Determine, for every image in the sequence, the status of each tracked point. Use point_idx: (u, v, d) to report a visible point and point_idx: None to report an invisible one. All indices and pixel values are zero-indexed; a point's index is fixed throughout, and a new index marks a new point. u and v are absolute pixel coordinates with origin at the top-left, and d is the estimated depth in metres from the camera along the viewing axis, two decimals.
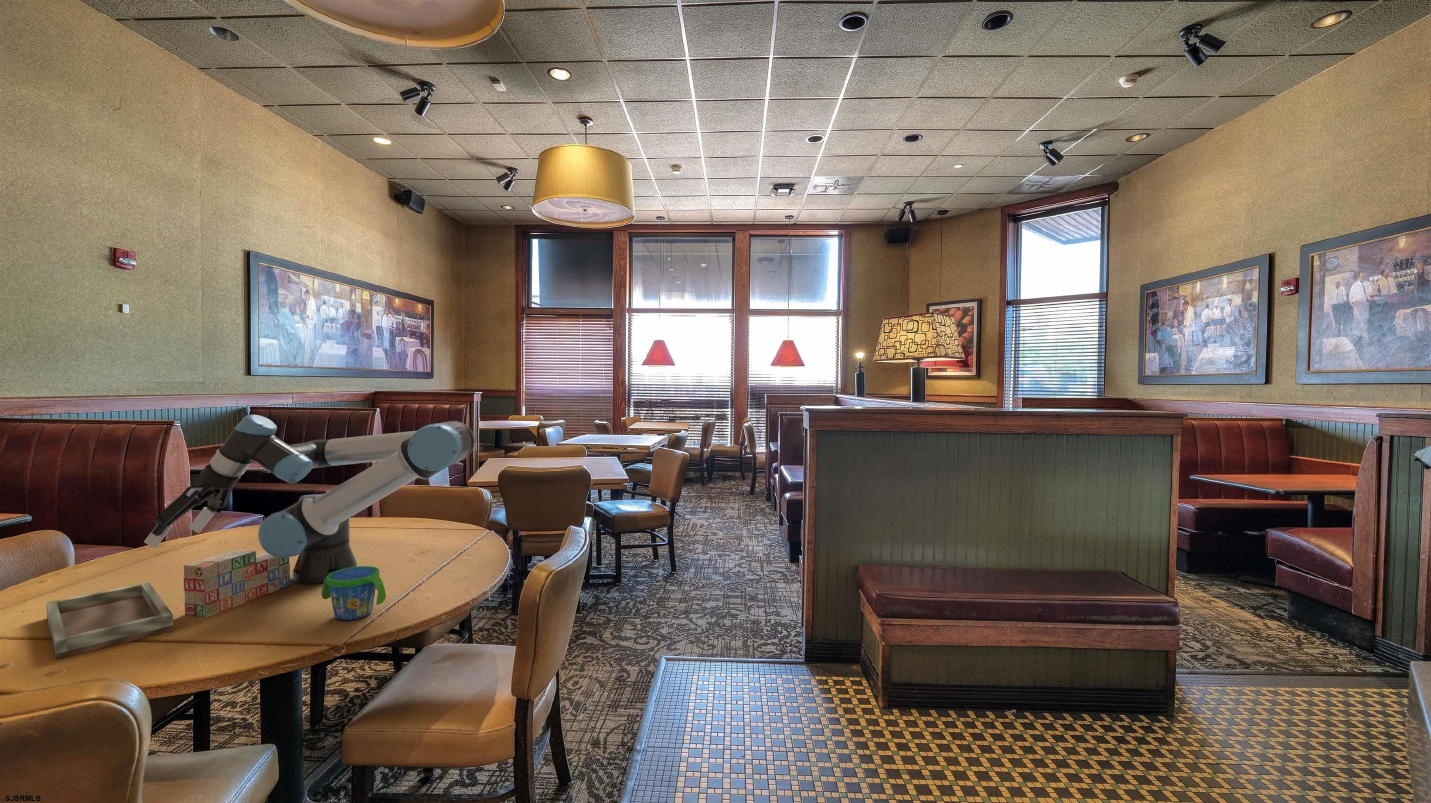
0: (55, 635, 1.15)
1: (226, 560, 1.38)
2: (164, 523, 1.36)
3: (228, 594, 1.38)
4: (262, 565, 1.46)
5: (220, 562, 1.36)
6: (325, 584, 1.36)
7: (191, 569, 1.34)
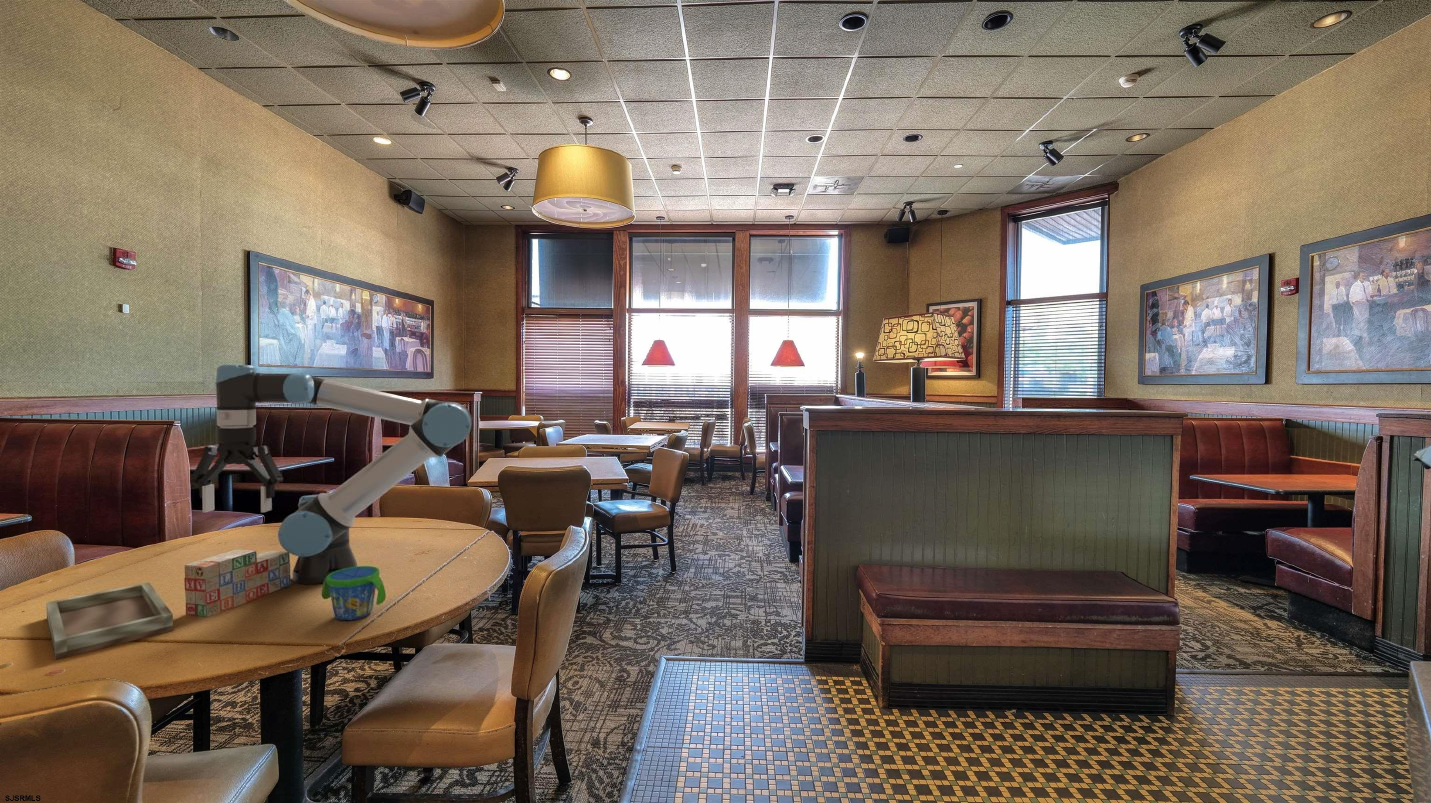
0: (55, 635, 1.15)
1: (227, 560, 1.38)
2: None
3: (229, 594, 1.38)
4: (262, 564, 1.47)
5: (221, 562, 1.36)
6: (325, 584, 1.36)
7: (192, 569, 1.34)
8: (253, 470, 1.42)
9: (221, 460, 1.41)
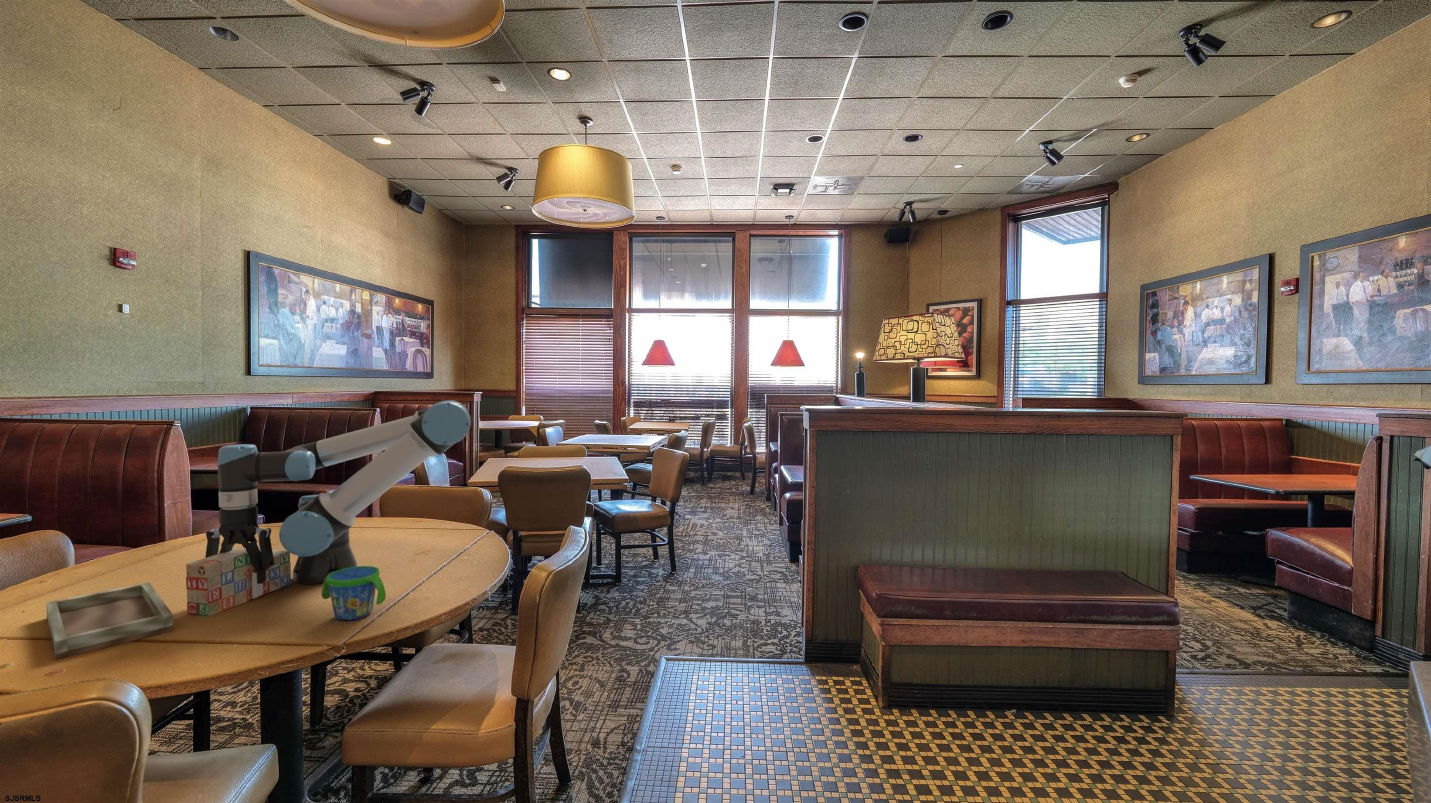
0: (55, 635, 1.15)
1: (229, 559, 1.38)
2: None
3: (230, 593, 1.39)
4: None
5: (223, 561, 1.37)
6: (325, 584, 1.36)
7: (194, 568, 1.34)
8: (249, 553, 1.43)
9: (226, 542, 1.42)
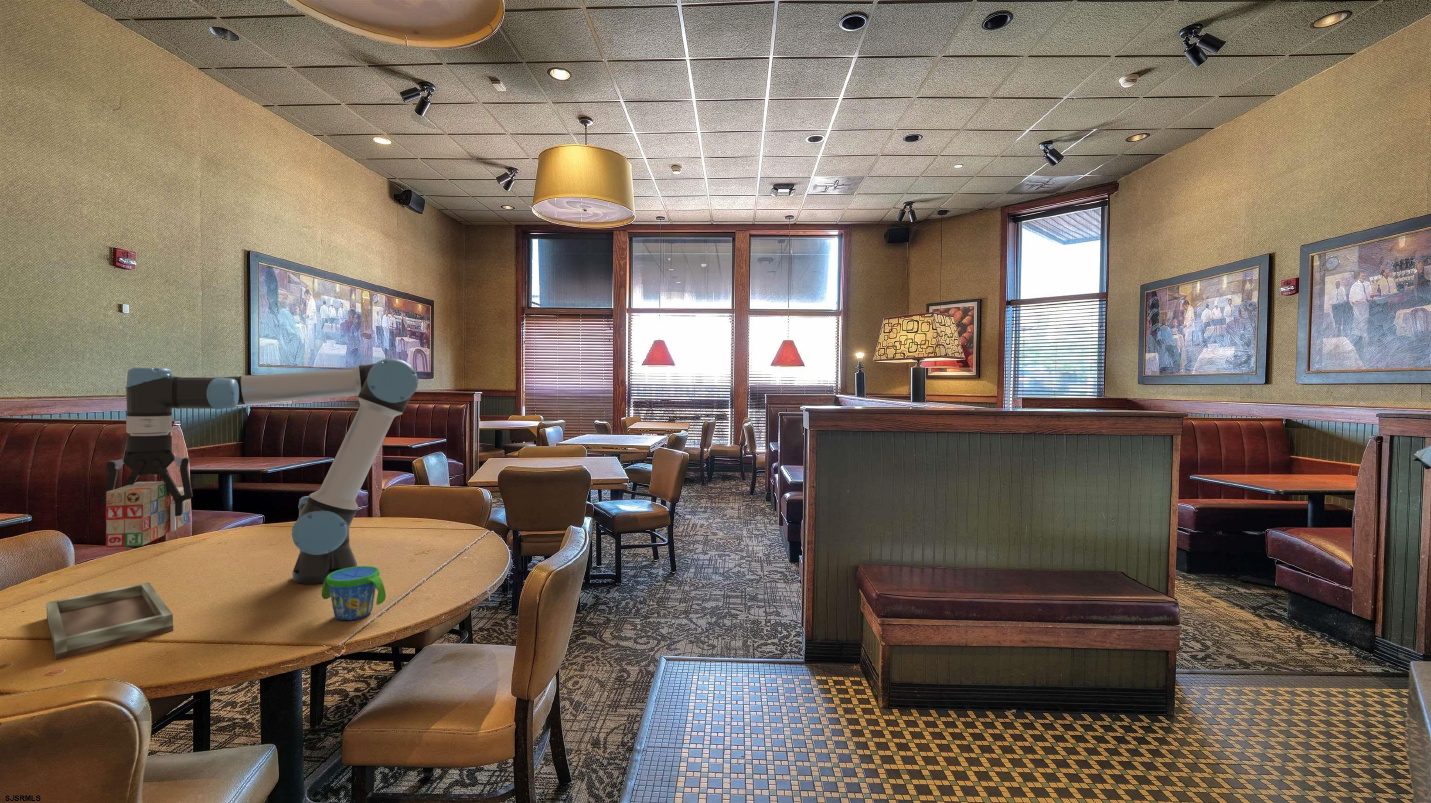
0: (55, 635, 1.15)
1: (155, 487, 1.29)
2: None
3: (156, 523, 1.30)
4: None
5: (152, 488, 1.28)
6: (325, 584, 1.36)
7: (120, 495, 1.23)
8: (167, 483, 1.34)
9: (137, 472, 1.30)
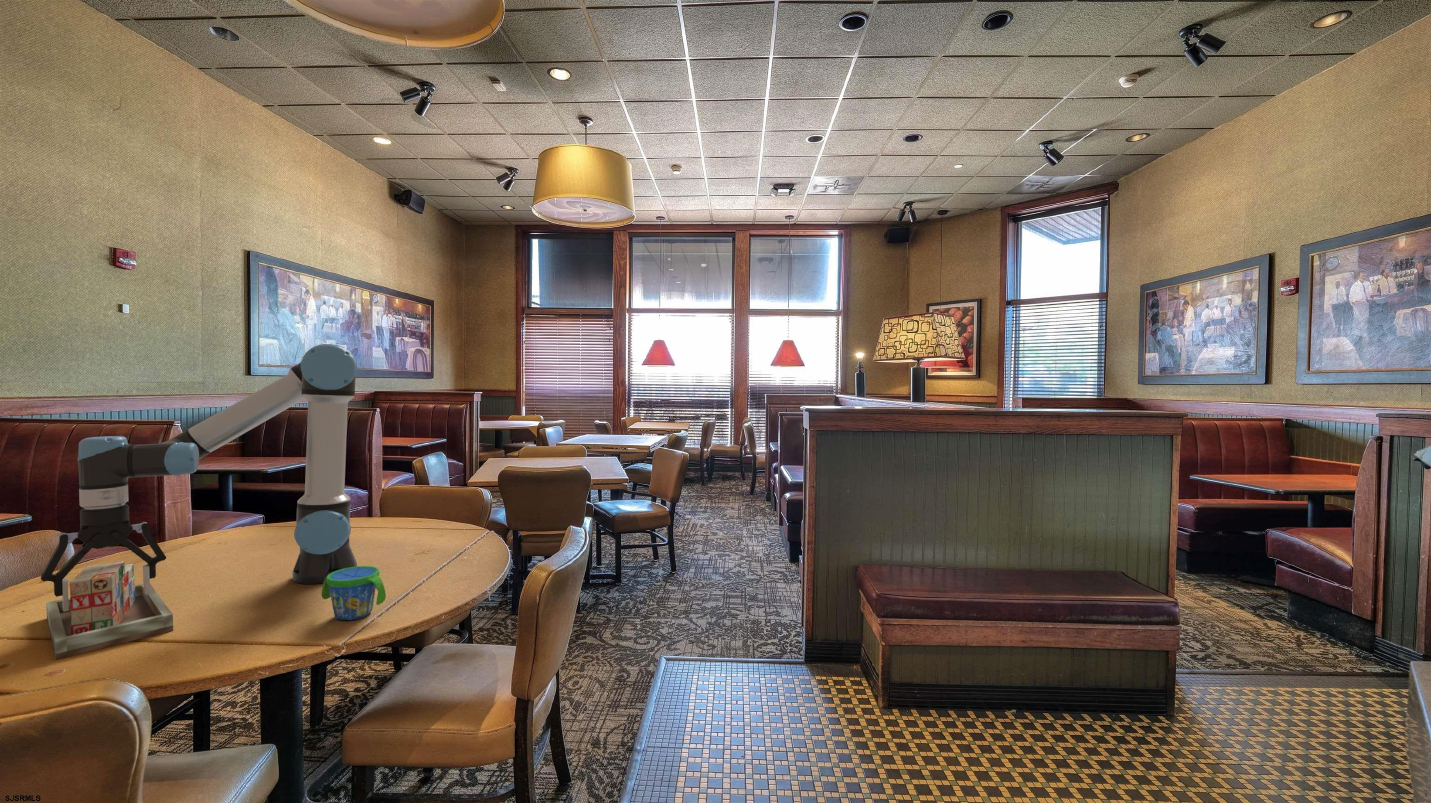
0: (55, 635, 1.15)
1: (117, 570, 1.26)
2: None
3: (119, 607, 1.27)
4: (126, 577, 1.33)
5: (116, 572, 1.25)
6: (325, 584, 1.36)
7: (85, 584, 1.20)
8: (134, 550, 1.31)
9: (91, 546, 1.26)
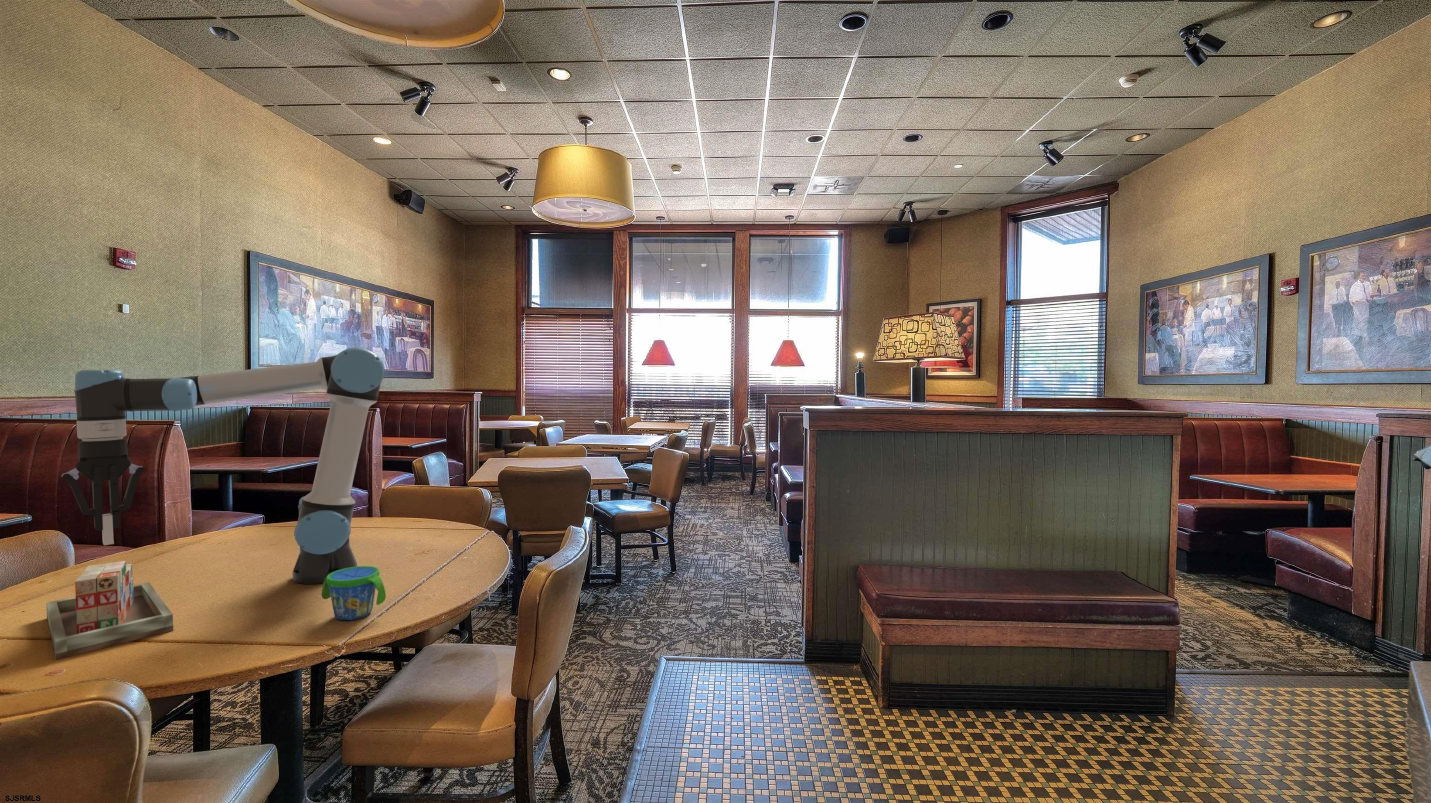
0: (55, 635, 1.15)
1: (121, 569, 1.27)
2: None
3: (122, 606, 1.27)
4: (127, 576, 1.34)
5: (120, 571, 1.26)
6: (325, 584, 1.36)
7: (91, 583, 1.20)
8: (112, 491, 1.28)
9: (99, 478, 1.26)
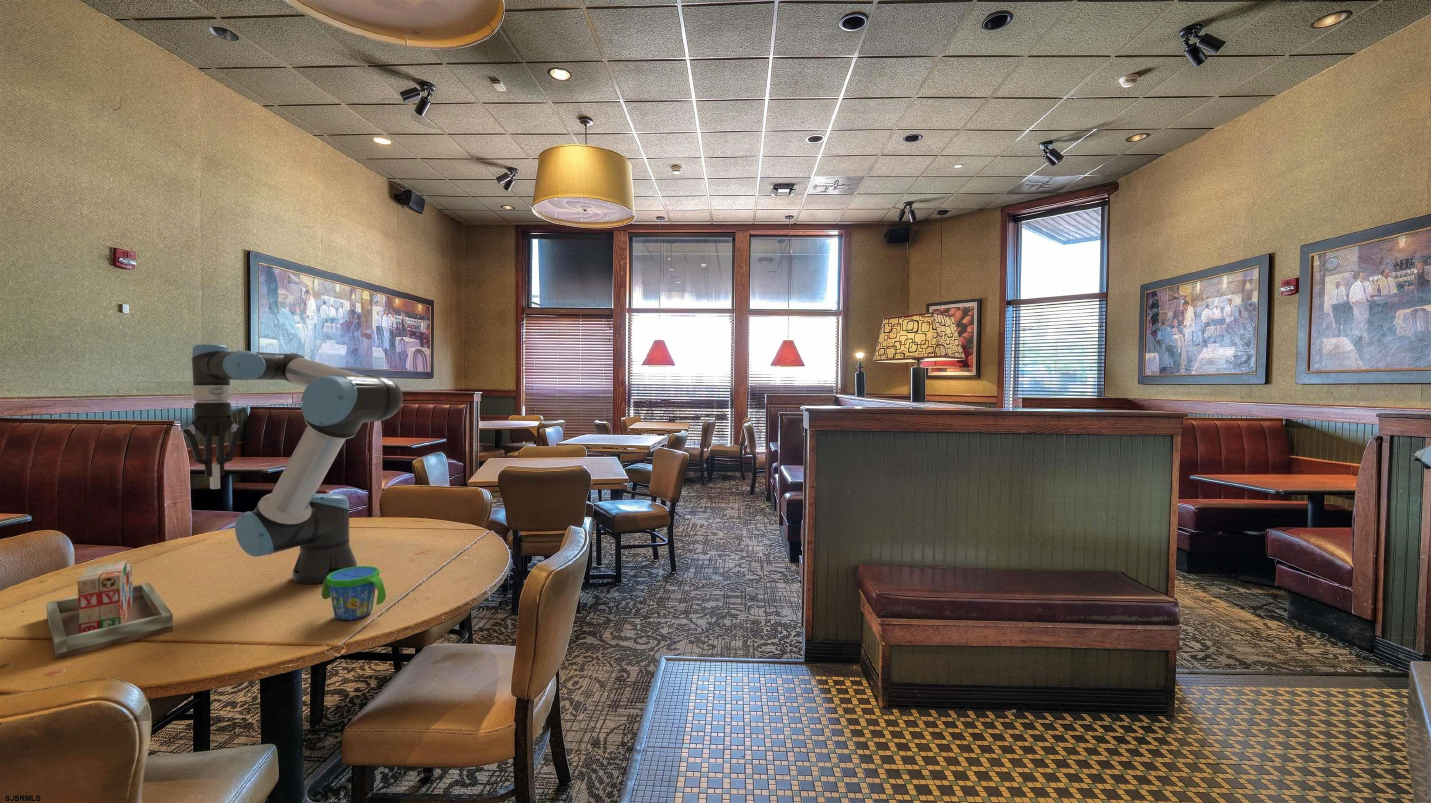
0: (55, 635, 1.15)
1: (122, 569, 1.27)
2: None
3: (124, 606, 1.27)
4: (127, 576, 1.34)
5: (122, 570, 1.26)
6: (325, 584, 1.36)
7: (93, 582, 1.21)
8: (220, 445, 1.55)
9: (210, 433, 1.53)
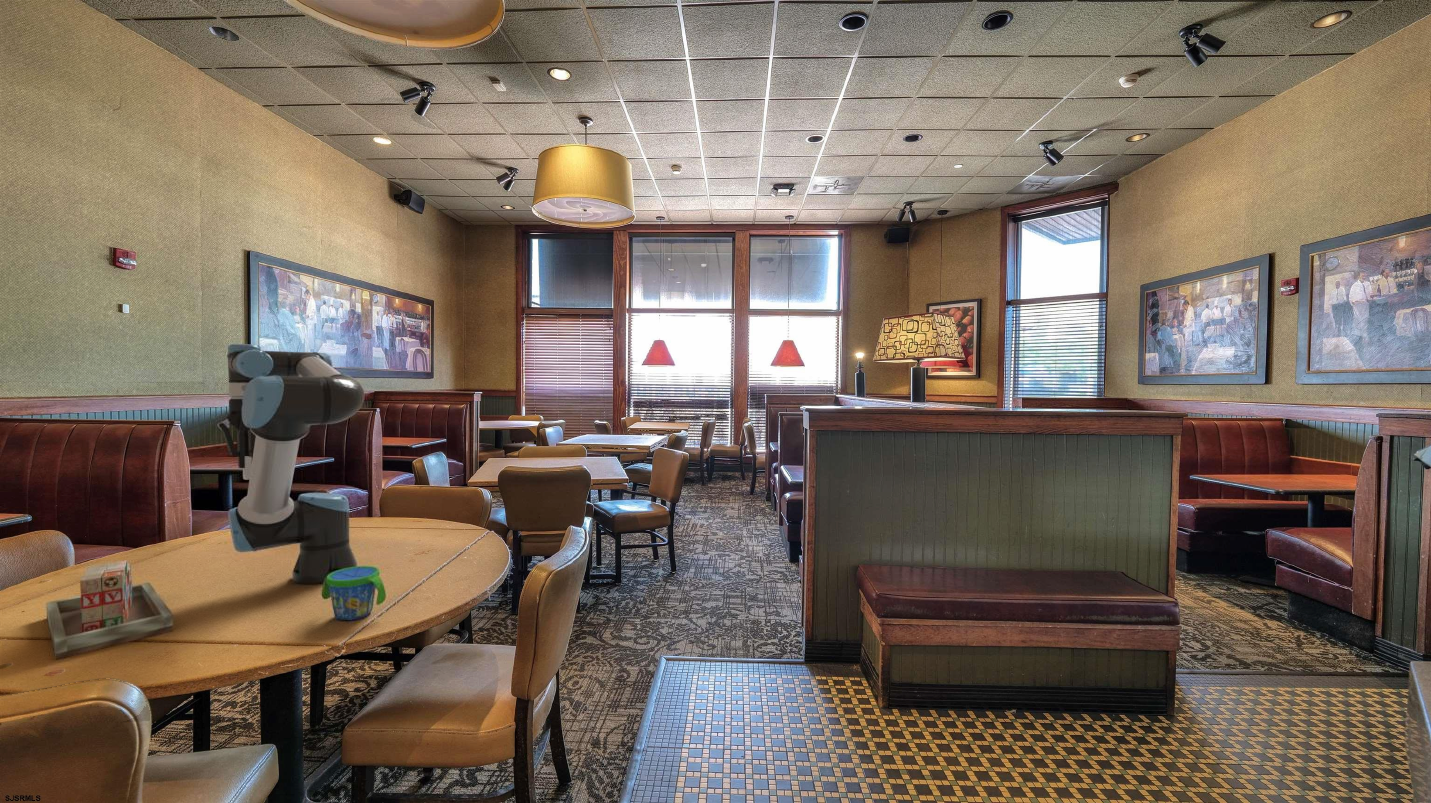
0: (55, 635, 1.15)
1: (124, 568, 1.27)
2: None
3: (126, 605, 1.28)
4: (128, 576, 1.34)
5: (124, 570, 1.26)
6: (325, 584, 1.36)
7: (96, 582, 1.21)
8: (252, 439, 1.66)
9: (243, 428, 1.64)
